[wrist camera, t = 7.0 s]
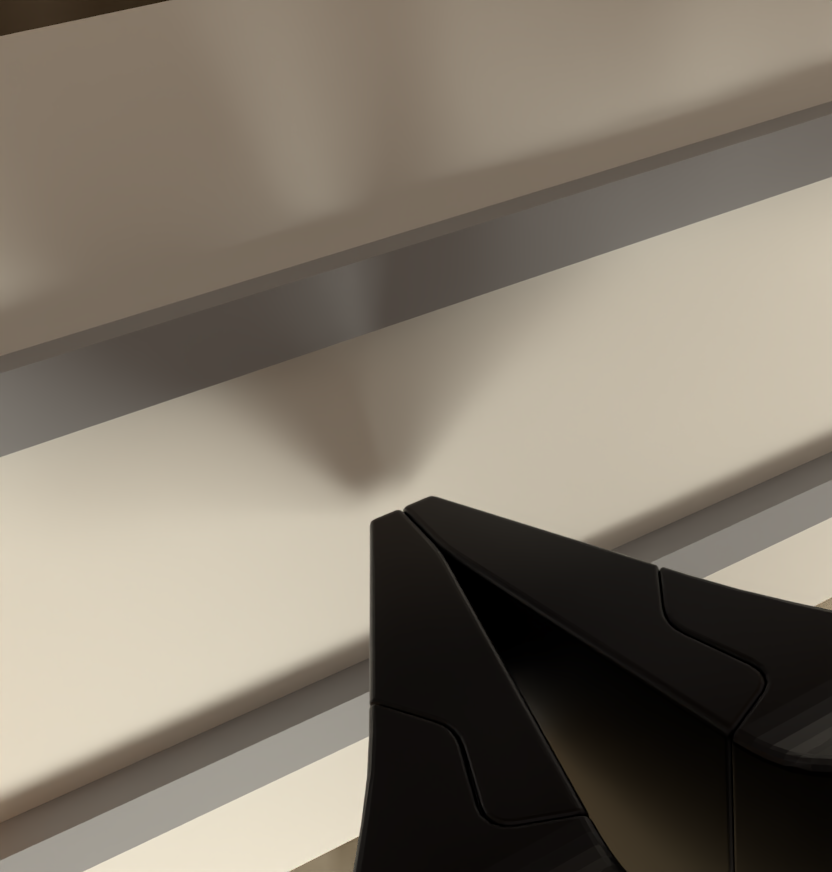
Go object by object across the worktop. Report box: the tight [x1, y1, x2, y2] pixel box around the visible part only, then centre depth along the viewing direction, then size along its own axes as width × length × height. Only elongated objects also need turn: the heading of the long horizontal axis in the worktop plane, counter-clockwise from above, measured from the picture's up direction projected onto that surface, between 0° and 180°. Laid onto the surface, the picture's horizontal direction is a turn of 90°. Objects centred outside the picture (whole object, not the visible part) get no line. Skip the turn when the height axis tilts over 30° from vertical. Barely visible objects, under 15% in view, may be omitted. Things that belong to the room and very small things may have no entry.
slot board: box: [0, 0, 832, 872], centre depth 12 cm, size 12×19×4 cm, turn 102°
